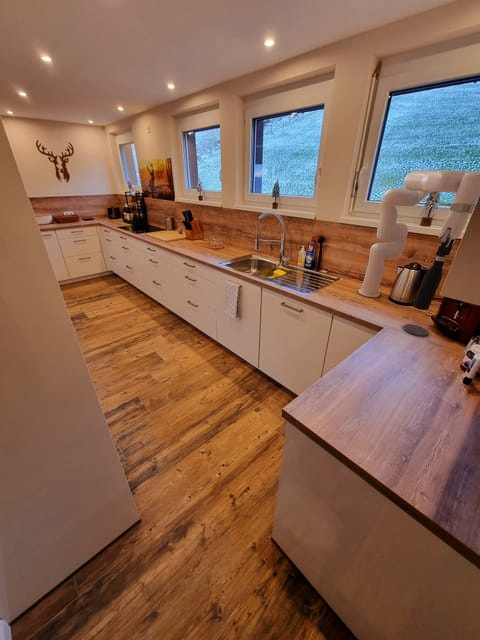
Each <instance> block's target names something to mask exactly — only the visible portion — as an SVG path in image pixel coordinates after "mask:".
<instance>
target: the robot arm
mask: <svg viewBox="0 0 480 640" xmlns="http://www.w3.org/2000/svg"><path fill="white" fill-rule="evenodd" d="M403 186H404V187H393V188H389V189H387V190H386V191H385V192H384V193H383V195H382V197H381V199H380V200H381V201H380V216H379V220H378V224H377V230H376V238H377V240H379V241H392V242H376V243H374V244H372V245H371V246H370V249H369V258H368V263H367V265H366V266H367V267H366V271H365V275H364V278H363V280H362V285H361V288H358V290H357V293H358V294H359V295H361V296H363V297H366V298H378V297H380V291H379V290H380V289H381V283H382V280H383V276H384V273H385V269H386V265H385V262H384V261H395V260H398V259H400V258H401V257H402V255H403V254H404V253H403V252H404V249H405V246H406V242H407V239H408V234H409V228H408V225H407V224H405V223H403V222H397V221H398V216H399V215H398V214H399V213H398V210H397V207H414V206H417V205H418V204H420V203H421V202H422V201H423V200H424V199H425V198H426V197H427V196H428V195H430V194H431V193H453V194H455V195H454V198H453V200H452V202H451V204H450V207H449V209H448V212H449V214H448V215H447V217H446V219H445V221H444V223H443V225H442V228H441V229H440V231H439V234H438V238H439V239H441V240H440V243H439V246H438V248H437V251H436V253H435V256H436V257H437V256H440V257H445V255H446V256H449V255H450V254H451V251H452V249H453V247H454V244H455V242H456V241H457V240H456V239H458V238H460V236H461V235H462V233H463V230H464V228H465V226H466V224H467V222H468V219H469V215H473V213H472V211H473V209H474V206H475V204H476V201H477V199H478V197H479V195H480V171H465V170H436V169H430V170H429V169H427V170H425V169H424V170H413V171H411V172H409V173H408V174H406V176H405V177H404V179H403ZM476 205H477V204H476ZM474 210H475V209H474ZM473 212H474V211H473ZM447 241H448V243H447ZM450 242H452V243H453V245H452V247H451V249H450V251H447V250H448V248H449V247H448V246H449V244H450ZM446 253H447V254H446Z"/></svg>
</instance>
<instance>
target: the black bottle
mask: <svg viewBox="0 0 480 640" xmlns="http://www.w3.org/2000/svg"><path fill="white" fill-rule="evenodd" d="M447 243H448V241H447ZM452 245H453V243H452V242H450V244H449V246H448V247H449V248H448V250H447V251H450V249H451V247H452ZM453 246H454V245H453ZM452 248H453V247H452ZM451 250H452V249H451ZM446 254H447V253H446ZM446 259H447V255H445V257H440V256H436V257H435V259H434V260H433V263H432V265H431V266H430V268H429V269H428V270H427V271H426V272H425V274H424V275H423V278H422V280H421V282H420V286H419V288H418V290H417V293H416V295H415V298H414V300H413V302H412V307H413V308H415V309H417V310H420V311H421V310H422V311H428V310H429V308H430V306H431V304H432V301H433V299H434V297H435V295H436V293H437V290H438V287H439V285H440V283H441V281H442V278H443V268H444V265H445V263H446Z"/></svg>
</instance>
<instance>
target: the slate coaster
mask: <svg viewBox="0 0 480 640" xmlns="http://www.w3.org/2000/svg"><path fill="white" fill-rule="evenodd" d="M403 330H404V332H406V333H408V334H410V335H413V336H416V337H426V336H427V335H428V333H429V332H428V330H427V329H426V328H425V327H422V326H420V325H417V324H412V323H411V324H410V323H409V324H408V323H407V324H404V326H403Z"/></svg>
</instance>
